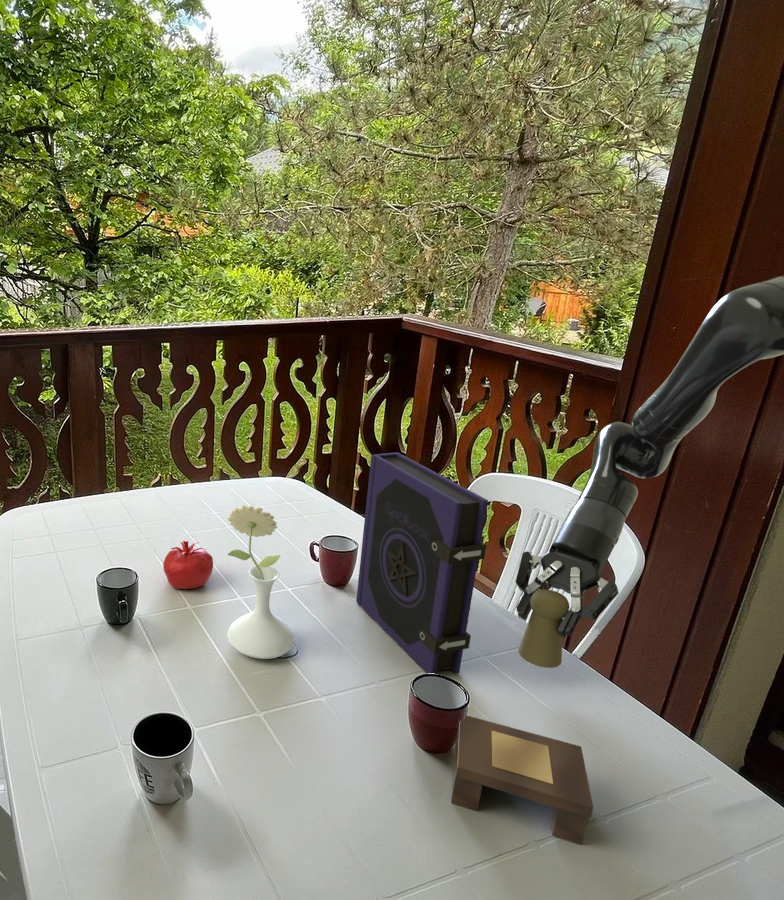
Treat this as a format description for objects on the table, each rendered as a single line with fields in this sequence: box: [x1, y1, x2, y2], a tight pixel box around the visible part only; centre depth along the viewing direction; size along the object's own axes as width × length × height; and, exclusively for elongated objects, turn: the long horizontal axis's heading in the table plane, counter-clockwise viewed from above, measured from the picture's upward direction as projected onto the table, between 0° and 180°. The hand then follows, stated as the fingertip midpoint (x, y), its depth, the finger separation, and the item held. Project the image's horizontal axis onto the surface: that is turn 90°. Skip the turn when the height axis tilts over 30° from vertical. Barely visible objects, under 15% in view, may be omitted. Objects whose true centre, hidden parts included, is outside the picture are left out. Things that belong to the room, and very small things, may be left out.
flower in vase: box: [226, 505, 296, 660], centre depth 105 cm, size 13×11×25 cm
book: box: [355, 452, 489, 675], centre depth 107 cm, size 24×6×30 cm, turn 15°
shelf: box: [450, 714, 594, 846], centre depth 78 cm, size 14×10×6 cm
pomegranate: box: [162, 539, 214, 590], centre depth 127 cm, size 10×10×9 cm
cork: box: [517, 589, 570, 669], centre depth 98 cm, size 6×6×11 cm
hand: (540, 625), depth 97 cm, fingers closed on cork, 5 cm apart
